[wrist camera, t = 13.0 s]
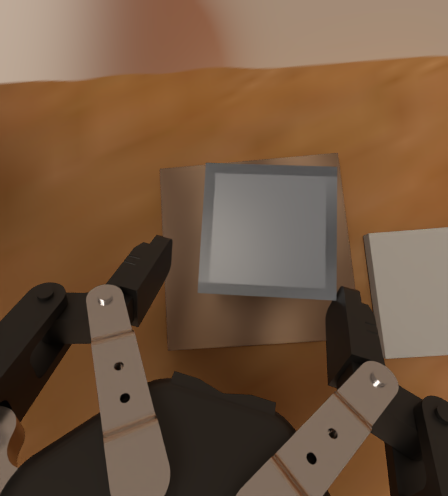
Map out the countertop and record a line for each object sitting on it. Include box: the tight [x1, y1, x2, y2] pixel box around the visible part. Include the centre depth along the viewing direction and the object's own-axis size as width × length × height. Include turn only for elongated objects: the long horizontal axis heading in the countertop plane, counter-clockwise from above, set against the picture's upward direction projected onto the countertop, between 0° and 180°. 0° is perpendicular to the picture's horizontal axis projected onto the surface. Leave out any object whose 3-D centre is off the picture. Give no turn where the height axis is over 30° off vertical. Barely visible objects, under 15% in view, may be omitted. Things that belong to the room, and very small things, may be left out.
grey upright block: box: [198, 163, 337, 301], centre depth 19 cm, size 6×6×9 cm
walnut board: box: [160, 153, 355, 351], centre depth 24 cm, size 14×14×1 cm
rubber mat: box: [363, 227, 448, 359], centre depth 22 cm, size 9×9×1 cm
